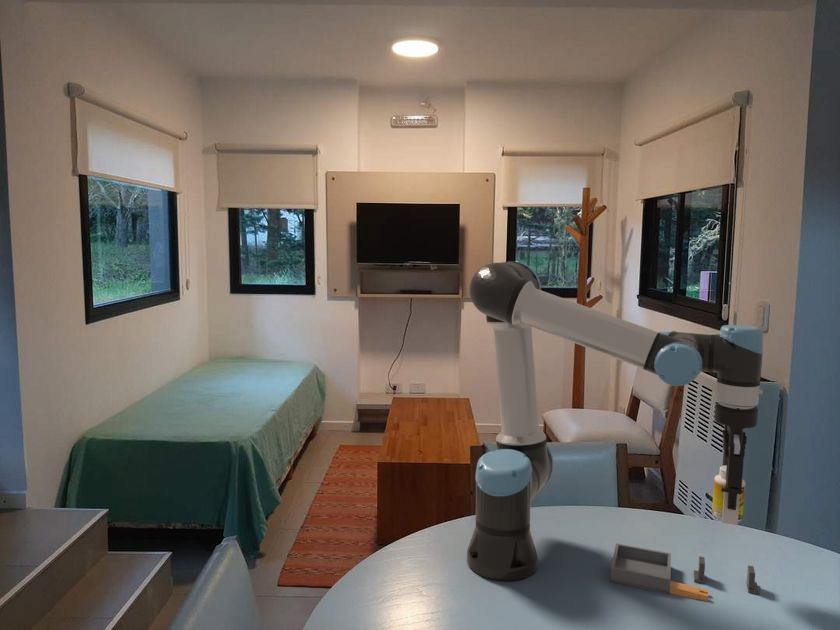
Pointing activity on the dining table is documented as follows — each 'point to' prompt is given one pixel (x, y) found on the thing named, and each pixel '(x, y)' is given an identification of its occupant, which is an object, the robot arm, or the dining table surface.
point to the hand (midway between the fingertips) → (728, 516)
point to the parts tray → (641, 568)
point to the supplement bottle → (719, 495)
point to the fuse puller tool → (688, 591)
